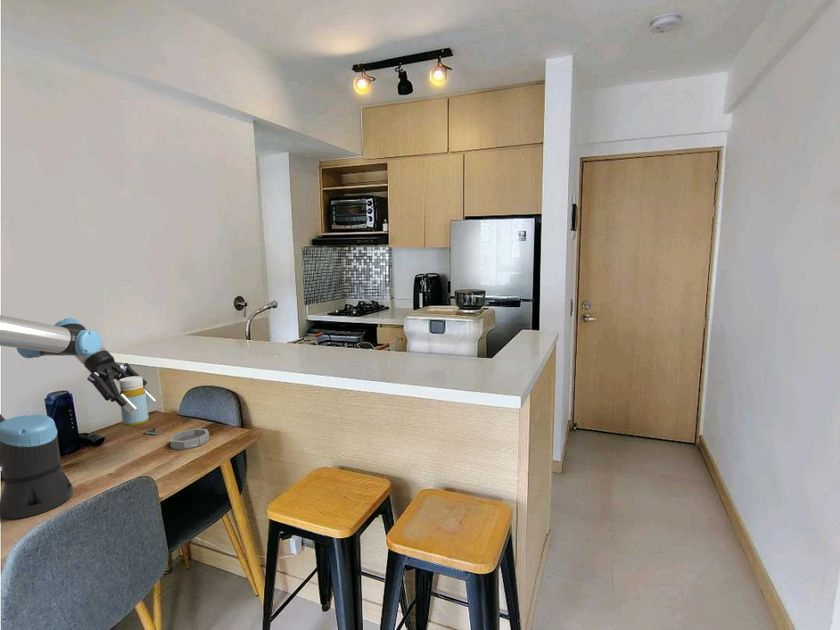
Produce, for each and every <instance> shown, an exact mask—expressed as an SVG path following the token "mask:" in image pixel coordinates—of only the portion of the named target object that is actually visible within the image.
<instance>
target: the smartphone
mask: <svg viewBox="0 0 840 630" xmlns="http://www.w3.org/2000/svg"><path fill="white" fill-rule="evenodd" d="M157 427H158V426H156V427H154V428H152V429H150V430H147V431H145V432H143V433H142V435H144V436H145V435H146V436H155V435H156V432H155V428H157Z"/></svg>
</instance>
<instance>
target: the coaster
mask: <svg viewBox="0 0 840 630" xmlns="http://www.w3.org/2000/svg"><path fill="white" fill-rule="evenodd" d="M209 441H210V432H209V430H208V429H207V428H195V427H194V428H191V429H185V430H182V431H181V430H180V431H179V432H177V433H175V434H173V435H171V436H169V442H170V444H169V446H170V447H169V448H170V449H172V450H174V451H175V450H176V451H183V450H185V449H186V450H190V449H195V448H198V447H201V446H203V445H205V444H207V443H209ZM206 442H207V443H206ZM186 450H185V451H186Z"/></svg>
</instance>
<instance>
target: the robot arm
mask: <svg viewBox="0 0 840 630" xmlns="http://www.w3.org/2000/svg"><path fill="white" fill-rule="evenodd" d="M0 346H1V347H8V348H9V347H10V348H16V350H17V352H18V354H19V355H20V356H21V357H23V358H25V359H34V358H38V359H39V358H40V357H45V356H55V357H56V356H58V357H59V356H61V357H62V356H63V357H64V356H71V357H73V356H74V357H75V358H76V359H77V360H78V361H79V362H80V363H81V364H83V365H84V368H85V369H87V370H88V372H90V374H89V375H88V376H87V378H86V379H87V381H89V382H90V383H91V384H92V385H93V386H94V387H95V389H96V390H97V391H98V392H99V394H101V395H100V396H102V398H104V400H105V401H107V402H108V401H110V402H112V403H114V402H116V403H117V404H118V405H119V407H120V408H121V407H123V408H124V409H125V410H126V411H127V412H128V413H129V414H130V415H131V414H133V413H134V412H135V410H136V409H137V408H136V407H135V406H134V405H133V404H132V403H131V402H130V401H129V400H128V399H127V397H126V396H125V395H124V394H121V395H120V392H119V389H118V387H117V385H116V383H115V381H114V380H117V382H119V381H120V379H123V378H126V377H132V376H140V374H138V373H137V371H135V370H134V369H133V368H131V366H130V365H129V363H124V364H123V365H122V364H121V365H120V364H119V363H117V362H116V361H115V357H114V356H113V355H112V354H111V353H110V352H109V351H108V350H106V348H105V347H104V346H103V345H102V338H101V336H100V334H99V333H98V332H96V331H94V330H88V329H86V327H85V326H84V325H83V324H82V323H80V321H78V320H77V319H76V318H72V317H68V318H67V317H66V318H64V319H63V320H59V321H57V322H56V323H55V324H48V323H44V322H43V323H42V322H39V321H32V320H27V319H22V318H18V317H13V316H7V315H3V314H0ZM142 380H143V387H144V389H145V392H146V400H147V406H148V407H153V405H154V404H155V403H156V401H157V400H156V399H155V397H153V396H152V395H151V392H150V391H149V390H148V389H147V388H146V385H147V384H148V382H147V380H146V379H144V378H143V377H142ZM60 453H61V452H60V445H59V438H58V429H57V426H56V423H55V421H54V419H53V418H52V417H51V416H48V415H43V414H31V415H28V414H27V415H18V416H14V417H10V418H7V419H6V418H5V417H4V416H3V415H2V414H1V413H0V468H1V473H2V478H3V488H2V492H1V497H0V518H1V519H6V520H17V519H24V518H28V517H33V516H37V515H40V514H42V513H43V514H44V513H46V512H48V511H51V510H53V509H56V508H57V507H59V506H61V505H63V504H65V503H67V502H68V501H69V500H70V499H72V497H73V495H74V488H73V484H72V483H71V481H70V479H69V478H68V476H67V475H66V473H65V472H64V470H63V468H62V462H61V454H60Z"/></svg>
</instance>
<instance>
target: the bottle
mask: <svg viewBox="0 0 840 630" xmlns="http://www.w3.org/2000/svg"><path fill="white" fill-rule="evenodd" d="M142 378H143V377H142V376H140V375H139V376H132V377H126V378H123V379H120V381H118V382H119V383H118V384H119V387H120V392H119V394H120V395H121V394H124V395H125V396H126V397H127V399H128V400H129V401H130V402H131V403H132V404H133V405H134V406H135V407H136V408H137V409H136V410H135V412H134V413H133V414H131V415H130V414H129V413H128V412H127V411H126V410H125V409H124V408H123V407H121V406H120V411H121V419H122V425H123V426H124V427H126V428H134V427H138V426H143V425H145V424H147V423H148V421H149V409H148V404H147V400H146V392H145V389H144V387H145V386H144V387H143V380H142Z"/></svg>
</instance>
